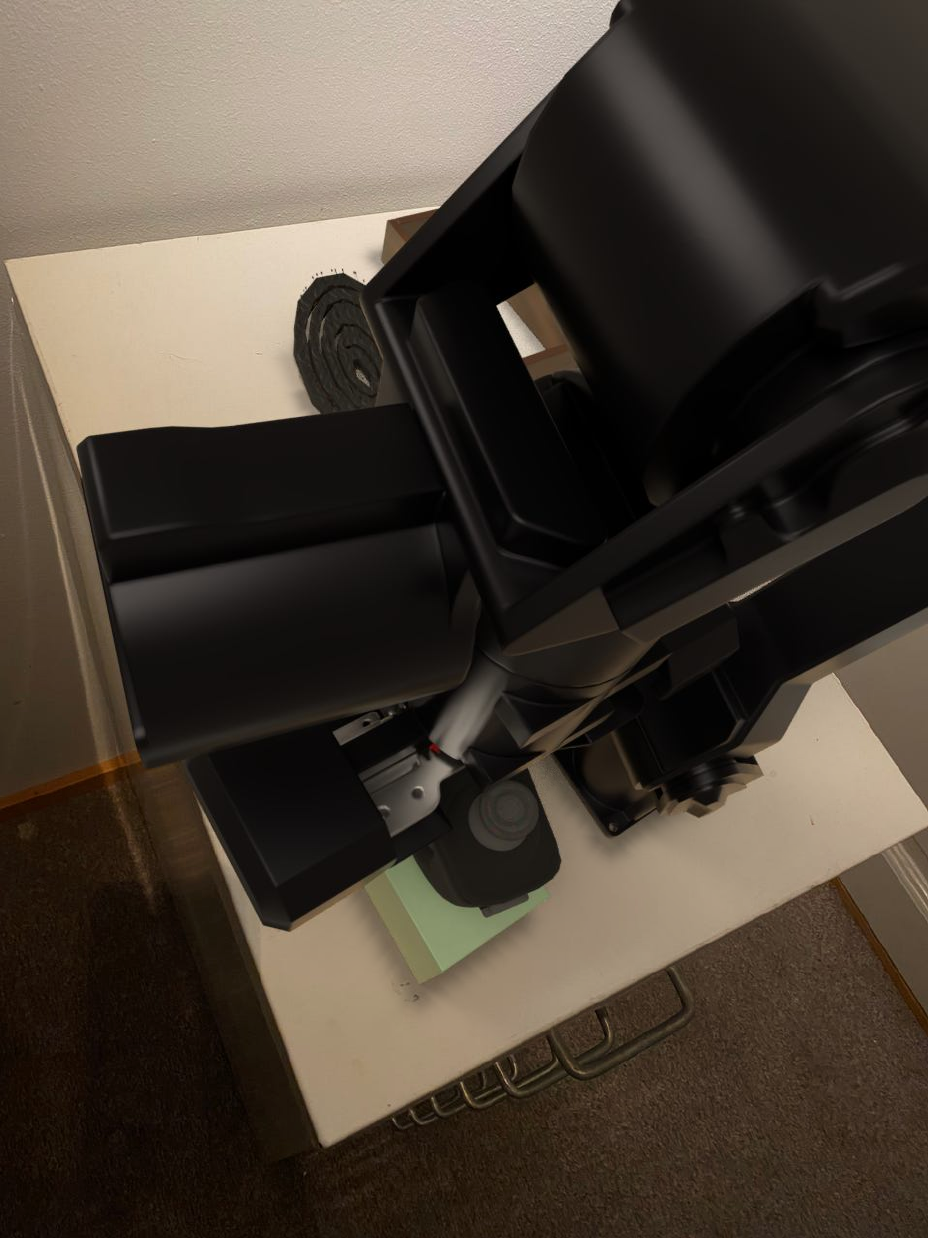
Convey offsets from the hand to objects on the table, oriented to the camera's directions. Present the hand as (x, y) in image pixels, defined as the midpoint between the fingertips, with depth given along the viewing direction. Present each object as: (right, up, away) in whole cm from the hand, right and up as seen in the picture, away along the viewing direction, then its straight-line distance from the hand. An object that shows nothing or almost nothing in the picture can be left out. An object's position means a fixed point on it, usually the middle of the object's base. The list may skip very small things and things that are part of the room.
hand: (440, 771), depth 34 cm
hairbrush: (-4, +18, +21) cm, 28 cm away
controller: (-1, -2, +4) cm, 4 cm away
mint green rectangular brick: (-2, -5, +9) cm, 11 cm away
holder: (+2, +29, +29) cm, 41 cm away
